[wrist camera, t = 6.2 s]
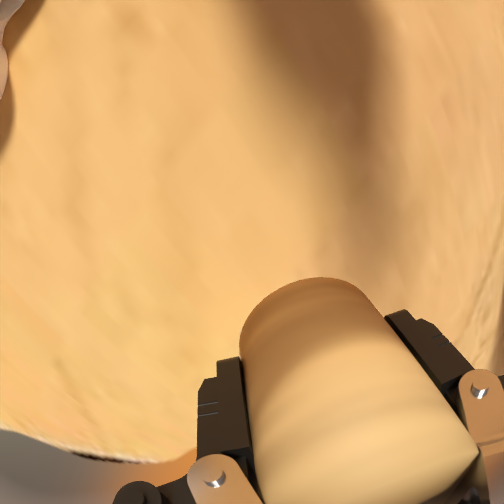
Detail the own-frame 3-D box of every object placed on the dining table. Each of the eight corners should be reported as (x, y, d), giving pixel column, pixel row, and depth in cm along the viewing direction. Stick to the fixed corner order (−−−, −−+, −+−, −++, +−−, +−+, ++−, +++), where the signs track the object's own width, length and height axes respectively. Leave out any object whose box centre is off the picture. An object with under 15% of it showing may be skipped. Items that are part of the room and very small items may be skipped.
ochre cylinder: (241, 278, 10) (281, 501, 3) (387, 275, 10) (521, 420, 4) (237, 393, 12) (259, 564, 5) (358, 383, 12) (425, 522, 6)
